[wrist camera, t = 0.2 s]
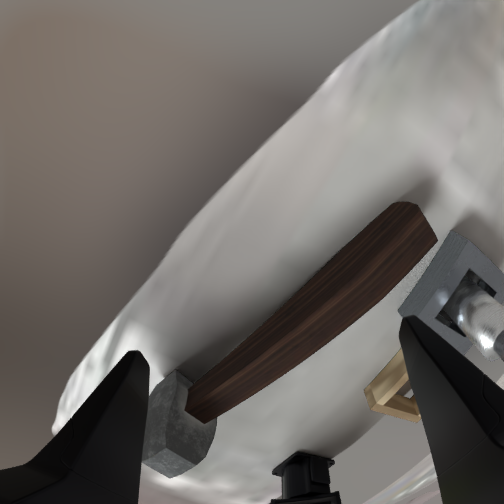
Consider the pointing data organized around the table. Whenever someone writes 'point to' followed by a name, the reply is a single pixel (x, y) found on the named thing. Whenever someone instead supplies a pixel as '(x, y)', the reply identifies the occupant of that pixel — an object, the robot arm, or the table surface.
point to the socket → (451, 286)
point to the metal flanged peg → (478, 318)
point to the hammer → (284, 337)
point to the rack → (392, 391)
